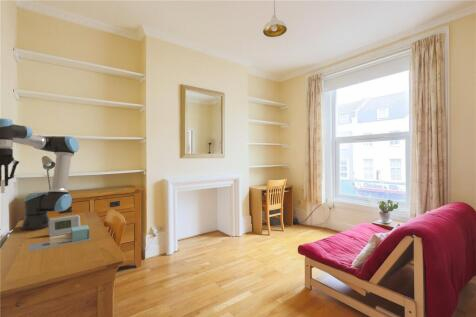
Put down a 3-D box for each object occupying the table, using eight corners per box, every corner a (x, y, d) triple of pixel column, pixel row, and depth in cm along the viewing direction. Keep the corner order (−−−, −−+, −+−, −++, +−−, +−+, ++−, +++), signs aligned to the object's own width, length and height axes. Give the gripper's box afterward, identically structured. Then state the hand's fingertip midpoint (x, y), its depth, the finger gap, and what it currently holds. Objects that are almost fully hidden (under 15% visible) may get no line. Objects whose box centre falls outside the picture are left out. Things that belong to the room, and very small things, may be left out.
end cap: (71, 237, 138) (71, 227, 138) (87, 234, 143) (87, 225, 143) (72, 241, 131) (72, 231, 131) (89, 238, 136) (89, 228, 136)
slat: (49, 242, 130) (49, 237, 130) (80, 237, 138) (80, 232, 138) (49, 244, 127) (49, 239, 127) (80, 239, 135) (80, 233, 135)
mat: (29, 245, 127) (29, 244, 127) (88, 235, 144) (88, 234, 144) (27, 252, 117) (27, 251, 117) (90, 240, 134) (90, 239, 134)
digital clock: (47, 238, 139) (47, 220, 139) (49, 234, 146) (49, 217, 146) (80, 233, 147) (80, 216, 147) (81, 230, 155) (81, 214, 155)
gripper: (-17, 147, 117) (-17, 194, 117) (18, 148, 125) (19, 192, 125) (-14, 147, 123) (-14, 192, 123) (20, 148, 131) (20, 190, 131)
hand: (3, 192), depth 124 cm, fingers closed
